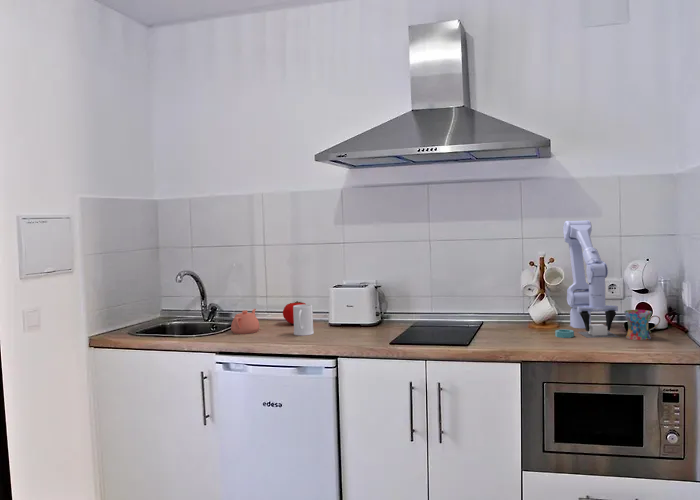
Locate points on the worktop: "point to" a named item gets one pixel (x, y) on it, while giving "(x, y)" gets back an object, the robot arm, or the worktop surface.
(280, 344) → the worktop surface
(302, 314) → the mug
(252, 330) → the teapot
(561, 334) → the bowl
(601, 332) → the white block
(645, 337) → the mug
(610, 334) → the mat
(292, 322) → the tomato
